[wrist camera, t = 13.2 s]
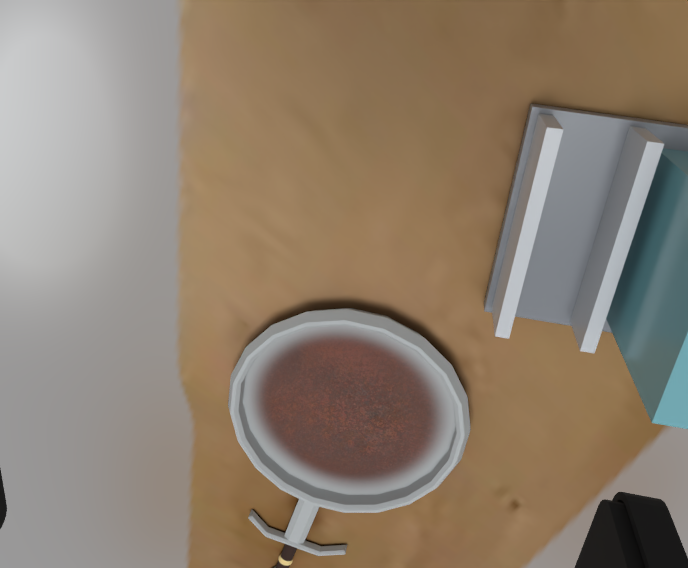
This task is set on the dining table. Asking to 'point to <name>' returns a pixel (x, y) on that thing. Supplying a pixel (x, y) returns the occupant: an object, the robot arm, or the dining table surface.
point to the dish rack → (573, 216)
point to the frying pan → (346, 417)
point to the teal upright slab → (658, 296)
